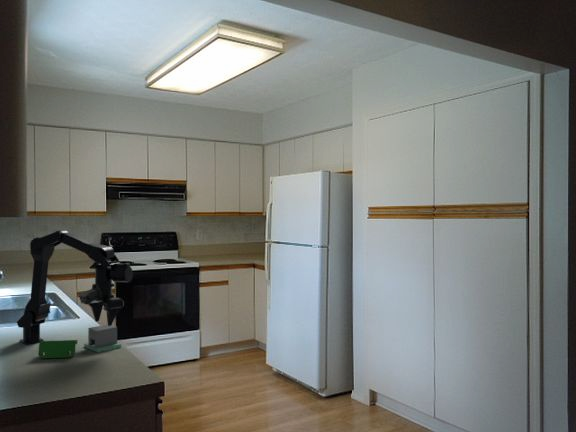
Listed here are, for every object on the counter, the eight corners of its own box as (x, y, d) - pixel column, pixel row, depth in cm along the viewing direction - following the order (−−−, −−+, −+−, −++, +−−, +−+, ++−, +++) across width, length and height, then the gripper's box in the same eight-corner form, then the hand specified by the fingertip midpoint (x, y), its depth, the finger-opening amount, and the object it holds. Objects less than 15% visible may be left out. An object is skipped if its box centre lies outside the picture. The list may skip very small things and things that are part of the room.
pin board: (84, 346, 183) (84, 338, 183) (107, 342, 189) (107, 333, 189) (97, 352, 176) (97, 343, 176) (121, 347, 183) (121, 338, 183)
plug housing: (88, 344, 182) (88, 327, 182) (108, 340, 188) (108, 324, 188) (96, 347, 178) (96, 330, 178) (117, 343, 184) (117, 327, 184)
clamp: (70, 366, 174) (83, 341, 176) (66, 368, 168) (79, 342, 171) (37, 353, 173) (50, 328, 175) (32, 354, 167) (45, 328, 170)
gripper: (69, 280, 182) (69, 323, 183) (95, 286, 170) (94, 332, 170) (98, 277, 191) (98, 318, 191) (124, 283, 178) (124, 326, 179)
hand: (103, 323), depth 183 cm, fingers open, 9 cm apart
